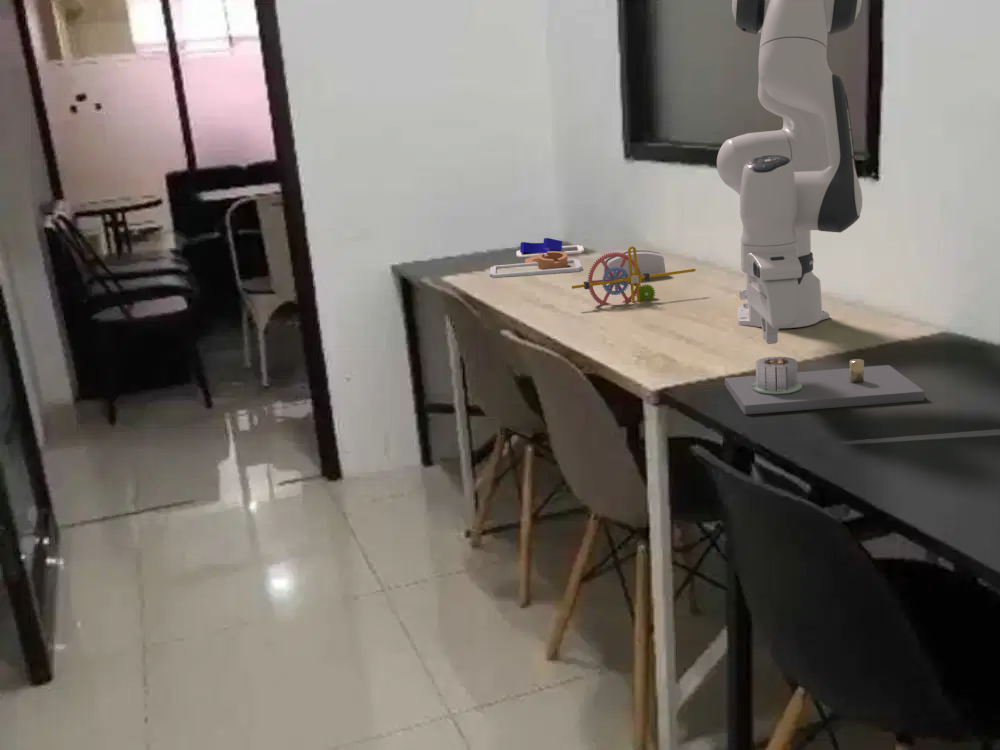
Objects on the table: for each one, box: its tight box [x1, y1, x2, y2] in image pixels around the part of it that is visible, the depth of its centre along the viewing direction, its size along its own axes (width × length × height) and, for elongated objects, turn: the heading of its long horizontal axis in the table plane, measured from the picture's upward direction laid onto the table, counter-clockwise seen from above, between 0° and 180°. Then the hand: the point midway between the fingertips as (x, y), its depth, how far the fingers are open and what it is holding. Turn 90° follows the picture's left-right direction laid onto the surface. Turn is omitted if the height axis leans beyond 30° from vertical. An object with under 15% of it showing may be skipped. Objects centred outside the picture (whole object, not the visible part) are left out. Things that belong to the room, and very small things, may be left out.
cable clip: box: [519, 237, 563, 254], centre depth 315 cm, size 12×4×6 cm
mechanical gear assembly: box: [571, 246, 696, 306], centre depth 244 cm, size 30×4×15 cm, turn 102°
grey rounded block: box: [602, 249, 667, 279], centre depth 271 cm, size 17×5×10 cm, turn 100°
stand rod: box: [849, 358, 865, 383], centre depth 171 cm, size 2×2×4 cm
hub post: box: [752, 363, 802, 395], centre depth 172 cm, size 8×8×4 cm
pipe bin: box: [489, 258, 583, 279], centre depth 292 cm, size 15×25×4 cm, turn 89°
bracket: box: [523, 251, 569, 270], centre depth 298 cm, size 18×8×7 cm, turn 22°
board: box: [724, 364, 925, 415], centre depth 172 cm, size 16×28×2 cm, turn 89°
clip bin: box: [516, 244, 585, 259], centre depth 318 cm, size 12×20×4 cm, turn 89°
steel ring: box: [755, 356, 799, 391], centre depth 172 cm, size 6×6×4 cm
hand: (770, 341), depth 173 cm, fingers closed
